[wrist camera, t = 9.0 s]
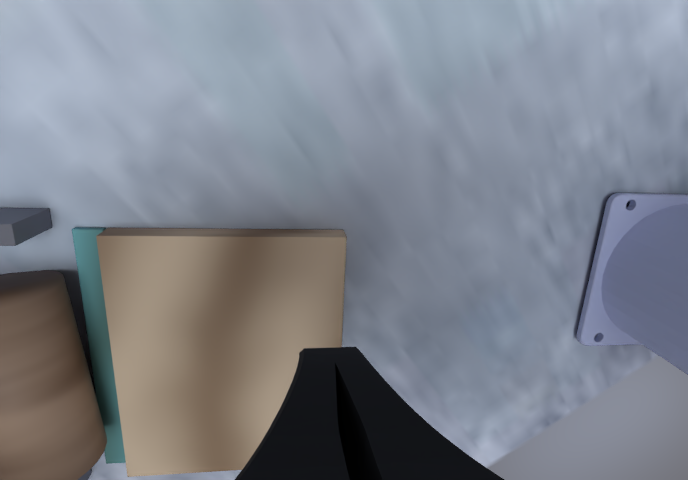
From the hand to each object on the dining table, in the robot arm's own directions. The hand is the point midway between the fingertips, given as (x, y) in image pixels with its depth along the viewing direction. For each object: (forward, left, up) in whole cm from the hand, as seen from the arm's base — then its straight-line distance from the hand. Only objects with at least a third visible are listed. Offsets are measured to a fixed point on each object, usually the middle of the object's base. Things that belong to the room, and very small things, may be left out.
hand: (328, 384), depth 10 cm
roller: (+12, +5, -8) cm, 15 cm away
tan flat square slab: (+4, +5, -10) cm, 12 cm away
